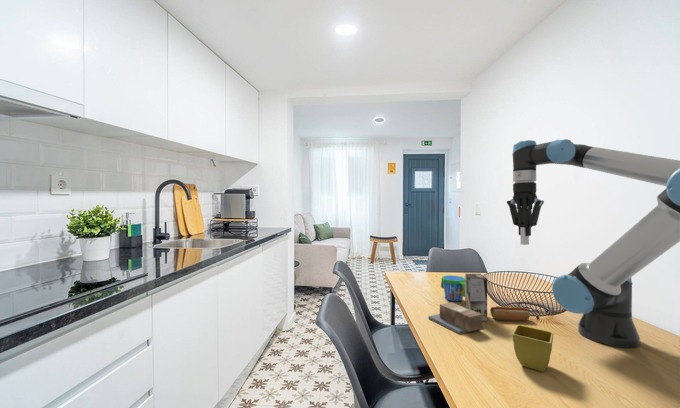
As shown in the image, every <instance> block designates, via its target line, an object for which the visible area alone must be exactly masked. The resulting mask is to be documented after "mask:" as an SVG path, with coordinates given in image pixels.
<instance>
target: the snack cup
mask: <svg viewBox="0 0 680 408" xmlns="http://www.w3.org/2000/svg"><path fill="white" fill-rule="evenodd" d="M440 288H442V289H443V292H444V296H445V297H444V298H445V299H446V300H448V301H450V302H461V301H462V300H463V298H464V297H465V276H464V277H463V276H459V275H443V276H442V277H441V283H440Z"/></svg>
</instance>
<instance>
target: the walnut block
mask: <svg viewBox="0 0 680 408" xmlns="http://www.w3.org/2000/svg"><path fill="white" fill-rule="evenodd" d="M439 314H440V318H442V319H444V320H446V321H448V322H450V323H453V324H455V325H457V326H459V327H461V328H463V329H465V330H467V331H469V332H475V331H477V330H481V329H483V328H482V325H483V321H482V314H480V313H478V312H475V311H472V310H470V309H467V308H465V307H464V306H461V304H460V305H459V304H456V303H454V302H453V301H450V302H445V303H441V304H439Z"/></svg>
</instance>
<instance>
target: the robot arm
mask: <svg viewBox="0 0 680 408" xmlns="http://www.w3.org/2000/svg"><path fill="white" fill-rule="evenodd" d="M511 155H512V166H513V169H512V182H514V183H513V184H512V192H513V196H512V199H510V200H507V201H506V204H507V206H508V207H509V211H510V216H511V220H512V225H514V226H517V227H518V235H519V236H520V245H523V246H527V245H530V237H531V235H532V227H536V226H537V225H538V222H539V221H538V220H539V216H540V212H541V210H542V209H541V208H542V206H543V205H544V203H545V201H544V200H541V199H539V198H538V196H537V183H536V181H537V166H542V165H549V164H550V165H551V164H554V165H567V166H573V167H579V168H583V169H588V170H594V171H597V172H601V173H605V174H606V173H607V174H610V175H615V176H619V177H624V178H628V179H631V180H637V181H641V182H645V183H651V184H655V185H659V186H664V187H666V188H665V189H663V190H662V191H661V193H659V194H658V195H657V196H656V201H657V205H656V206H655V207H654V208H652V210H650V211H649V212H648V213H647V214H646V215H645V216H643V217H642V218H641V219H639V221H638V222H637V223H636V224H634V225H633V226H632V227H631V228H629V229H628V230H627V231H626V232H625V233H624V234H623V235H621V236H620V237H619V238H618V239H616V240H615V241H614V242H613V243H612V244H611V245H610V246H608V247H607V248H606V249H605V250H604V251H603V252H602V253H600V254H599V255H597V257H596V258H595V259H593V260H592V261H590V262H589V263H588V262H582V263H580V264H578V265H577V266H576V267H575V268H574V269H572V271H570V272H569V273H568V274H562V275H560V276H558V277H556V278H555V279H554V280H553V282H552V286H551V290H552V295H553V297H554V299H555V301H556V303H558V305H560V307H561V308H563V309H564V310H565V311H568V312H570V313H573V314H578V315H579V314H580V315H581V314H582V316H581V317H580V320H579V322H578V329H577V331H578V333H579V334H580V335H582V336H583V337H585V338H587V339H589V340H591V341H594V342H597V343H599V344H603V345H608V346H613V347H618V348H619V347H620V348H625V349H626V348H628V349H629V348H637V347H639V346H640V345H641V342H640V341H641V338H640V335H639V333H638V330H637V328H636V326H635V322H634V320H633V282H632V277H633V276H635V275H636V274H638V272H640V271H642V270H643V269H645V268H646V267H647V266H649V265H650V264H651V263H653V262H654V261H655V260H656V259H658V258H659V257H660V256H662V255H663V254H665V253H666V252H667V251H668V250H670V249H671V248H673V247H674V246H676V245H677V244H678V243H680V160H678V159H672V158H667V157H661V156H660V157H659V156H653V155H647V154H640V153H634V152H629V151H622V150H615V149H609V148H605V147H603V148H602V147H597V146H592V145H590V146H589V145H586V144H580V143H579V144H576V143H574V142H572V141H571V140H570V139H567V138H564V139H555V140H553V141H549V142H544V143H538V144H537V142H536V141H535V140H521V141H517V142H515V143H514V144H513V145H512V154H511ZM533 204H534V205H533Z"/></svg>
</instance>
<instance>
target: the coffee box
mask: <svg viewBox="0 0 680 408" xmlns="http://www.w3.org/2000/svg"><path fill="white" fill-rule="evenodd" d="M464 278H465V298H464V299H465V301H464V303H465V308H467V309H470V310H472V311H475V312H478V313H480V314H482V322H483V321H485V322H487V321H488V278H486V277H485V276H484V275H482V274H481V273H465V274H464Z"/></svg>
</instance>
